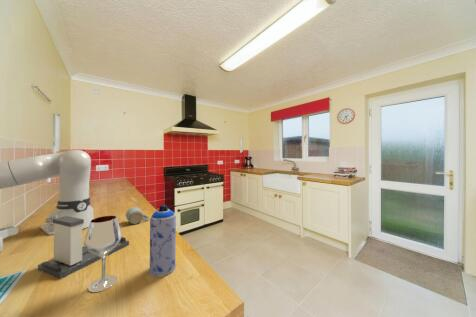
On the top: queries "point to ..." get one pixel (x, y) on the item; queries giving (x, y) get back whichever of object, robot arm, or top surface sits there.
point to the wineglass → (102, 246)
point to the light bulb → (135, 215)
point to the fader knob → (68, 239)
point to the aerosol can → (162, 242)
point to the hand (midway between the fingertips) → (15, 229)
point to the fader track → (64, 270)
